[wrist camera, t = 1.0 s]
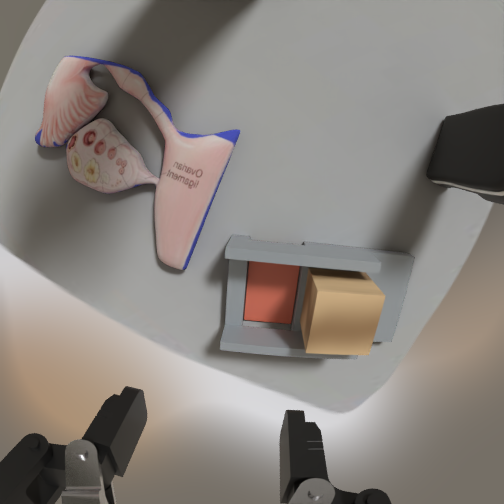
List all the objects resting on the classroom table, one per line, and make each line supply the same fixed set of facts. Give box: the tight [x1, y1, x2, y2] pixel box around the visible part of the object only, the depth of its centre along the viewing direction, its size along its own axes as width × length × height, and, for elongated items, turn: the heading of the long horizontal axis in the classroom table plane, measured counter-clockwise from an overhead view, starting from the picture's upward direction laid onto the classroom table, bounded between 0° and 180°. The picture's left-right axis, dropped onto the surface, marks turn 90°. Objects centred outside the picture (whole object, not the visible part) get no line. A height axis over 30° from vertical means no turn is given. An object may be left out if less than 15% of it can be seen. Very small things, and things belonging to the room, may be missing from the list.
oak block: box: [300, 267, 385, 355], centre depth 23 cm, size 5×5×5 cm
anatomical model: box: [35, 56, 240, 270], centre depth 23 cm, size 20×3×15 cm
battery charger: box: [427, 104, 504, 204], centre depth 17 cm, size 7×4×11 cm, turn 158°
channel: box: [220, 235, 414, 359], centre depth 24 cm, size 9×16×4 cm, turn 85°
